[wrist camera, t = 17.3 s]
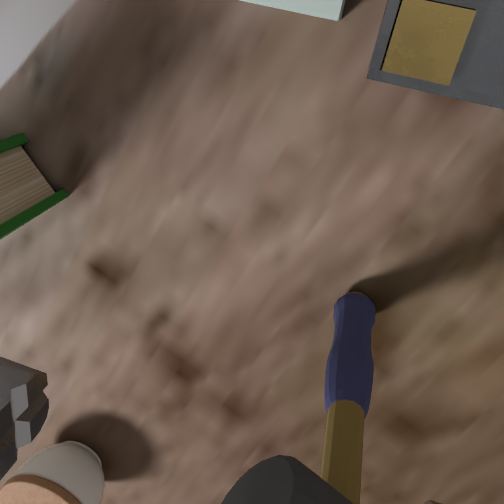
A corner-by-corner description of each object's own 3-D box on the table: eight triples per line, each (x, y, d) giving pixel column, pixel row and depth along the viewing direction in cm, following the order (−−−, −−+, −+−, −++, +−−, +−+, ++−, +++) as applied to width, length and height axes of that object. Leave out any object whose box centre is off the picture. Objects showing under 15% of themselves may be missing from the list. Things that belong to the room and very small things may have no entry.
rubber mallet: (427, 326, 46) (488, 740, 20) (366, 361, 49) (351, 750, 24) (342, 236, 44) (286, 570, 18) (285, 280, 47) (169, 610, 21)
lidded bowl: (29, 452, 72) (-25, 520, 62) (60, 412, 66) (6, 481, 56) (96, 498, 73) (54, 572, 64) (134, 464, 67) (93, 540, 58)
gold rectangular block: (461, 10, 34) (476, 10, 28) (439, 74, 36) (448, 85, 31) (400, -3, 34) (404, -4, 29) (381, 61, 36) (381, 70, 31)
